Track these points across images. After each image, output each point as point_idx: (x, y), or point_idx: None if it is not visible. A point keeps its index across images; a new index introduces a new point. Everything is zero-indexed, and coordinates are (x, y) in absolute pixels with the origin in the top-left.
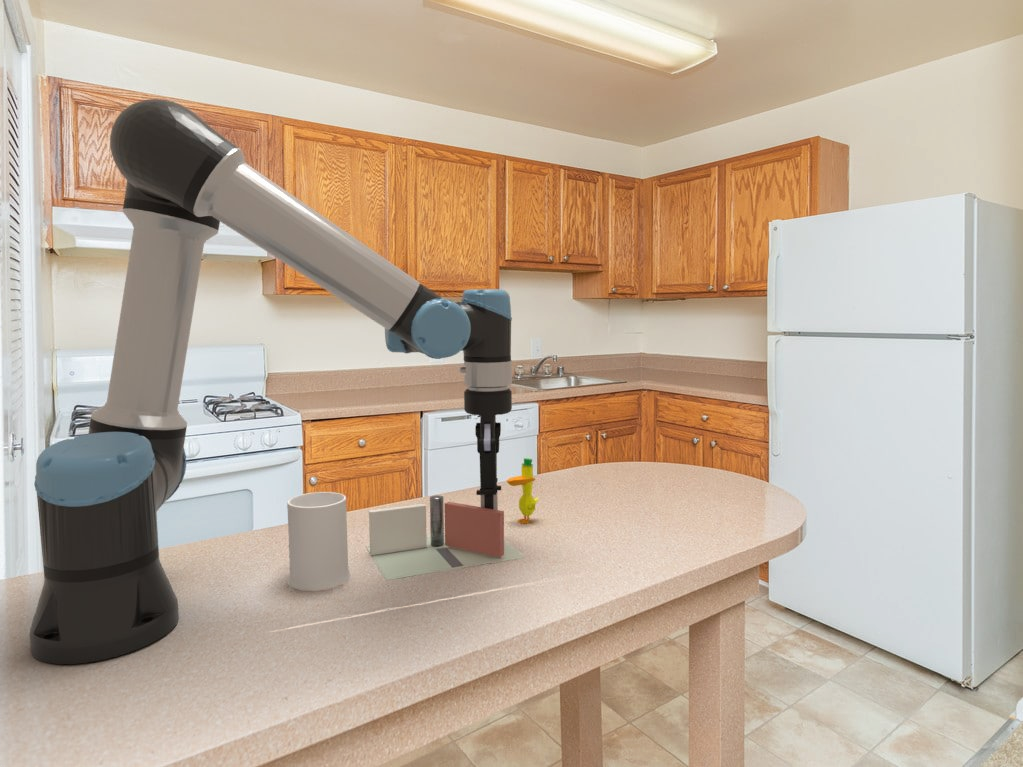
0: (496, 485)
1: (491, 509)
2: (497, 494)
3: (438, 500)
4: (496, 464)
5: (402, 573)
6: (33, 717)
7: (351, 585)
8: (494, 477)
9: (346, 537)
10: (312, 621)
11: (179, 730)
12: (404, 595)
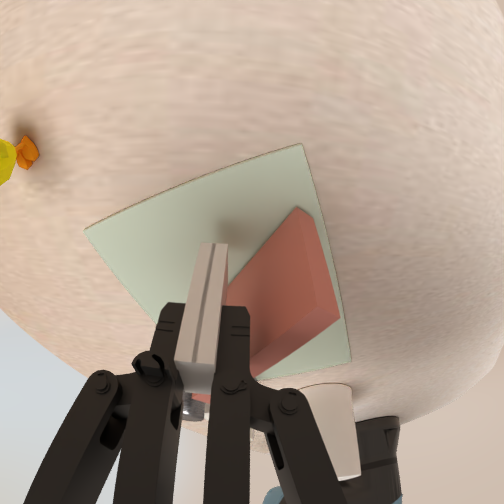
0: (171, 390)
1: (284, 338)
2: (188, 353)
3: (202, 413)
4: (83, 453)
5: (335, 352)
6: (432, 410)
7: (345, 379)
8: (332, 472)
9: (332, 432)
10: (410, 378)
11: (479, 374)
12: (399, 338)
